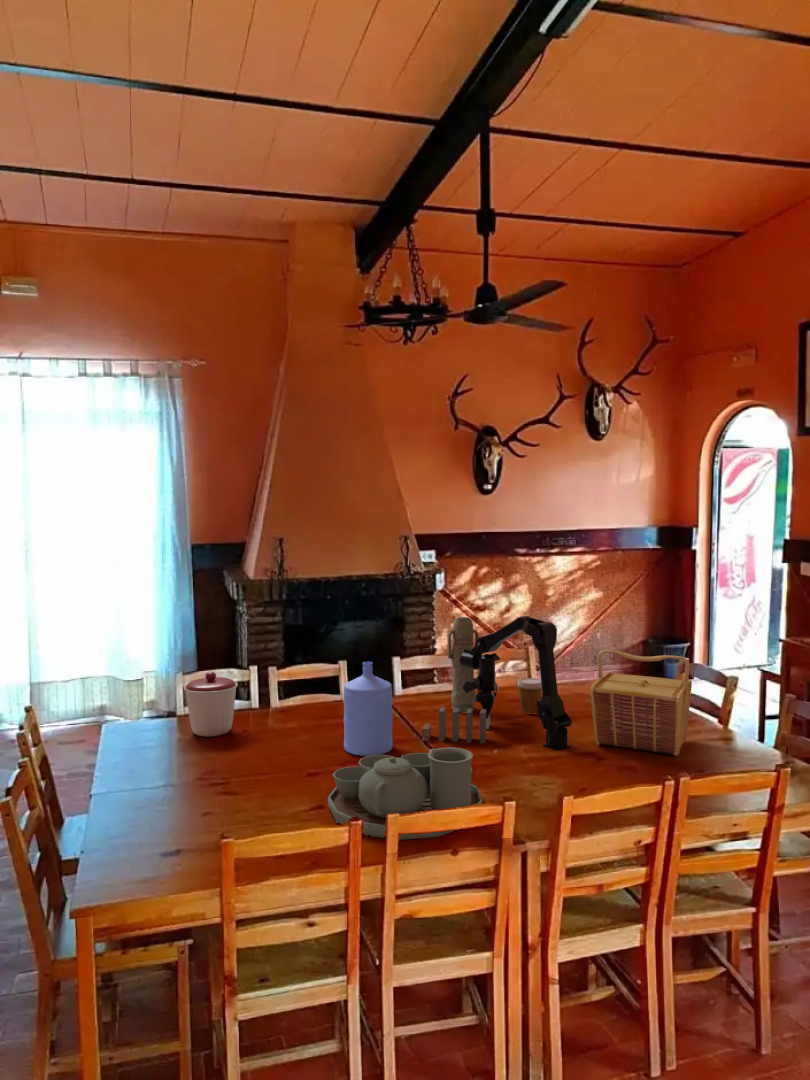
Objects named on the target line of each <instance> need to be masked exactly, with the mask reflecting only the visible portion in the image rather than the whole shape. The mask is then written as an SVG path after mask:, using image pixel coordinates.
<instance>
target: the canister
mask: <svg viewBox="0 0 810 1080" xmlns="http://www.w3.org/2000/svg"><path fill="white" fill-rule="evenodd" d="M238 686H239V683H238V682H237V681H235V680H234V679H232V678H228V677H221V676H220V677H218V676H217V675H216V673H215V672H214V671H208V672H206V674H205V675H204V677H203V678H197V679H193V680H191V681H189V682H188V683H186V684H185V685H183V690H184V691H185V695H186V703H187V709H188V710H187V711H188V717H189V723H190V728H191V730H192V732H193V734H195V735H197V736H199V737H207V738H210V737H211V736H212V737H218V736H222V735H224V734H227V733H228V732H230V731H231V730H232V727H233V721H234V714H235V713H234V711H235V702H236V694H237V693H236V691H237V688H238Z"/></svg>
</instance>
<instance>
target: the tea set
mask: <svg viewBox="0 0 810 1080" xmlns="http://www.w3.org/2000/svg"><path fill="white" fill-rule="evenodd" d="M428 751H429V752H428V753H426V752H415V753H414V752H413V753H407V754H401V757H395V756H392V755H387V754H381V755H372V756H363V757H362V758H360V759H359V761H358V765H359V766H353V765H352V766H347V767H342V768H339V769H336V770H335V771H334V772H333V773H332V777H333V778H334V782H335V788H334V789H333V790H332V791H331V793H330V794H329V795H328V796H327V806H328V808H329V810H330V811H331V814H332V816H333V819H334V820H335V822H336V824H338V823H346V822H347V821H348V820H349V819H350V818H352V817H358V818H360V819H362V820H363V834H364V835H363V836H368V835H370V837H377V838H383V839H385V838H384V837H385V830H386V825H385V822H386V821H385V820H386V816H387V814H388V813H399V814H406V813H414V812H418V811H424V810H435V809H447V808H455V807H463V806H469V805H473V804H482V805H483V800H482V795H481V794H480V791H479V788H478V786H476V785H474V784H472V773H473V768H472V759H473V757H474V753H472V752H471V751H470V750H468V749H464V748H461V747H452V746H451V747H439V748H431V749H428ZM453 832H454V831H444V832H433V833H422V834H401V835H400V836H399V840H398V841H400V840H401V841H402V840H415V839H427V838H429V839H430V838H438V837H441V836H444V835H446V834H450V833H453Z"/></svg>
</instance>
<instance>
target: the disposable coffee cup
mask: <svg viewBox="0 0 810 1080" xmlns="http://www.w3.org/2000/svg"><path fill="white" fill-rule="evenodd" d="M517 687H518V692H519V693H518V694H519V695H518V696H519V701H520V710H521V711H522V712H524V713H531V714H532V713H537V711H538V708H537V700H541V698H542V684H541V679H539V678H533V677H532V678H531V677H524V678H520V679H518V682H517ZM522 712H521V713H522Z"/></svg>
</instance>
